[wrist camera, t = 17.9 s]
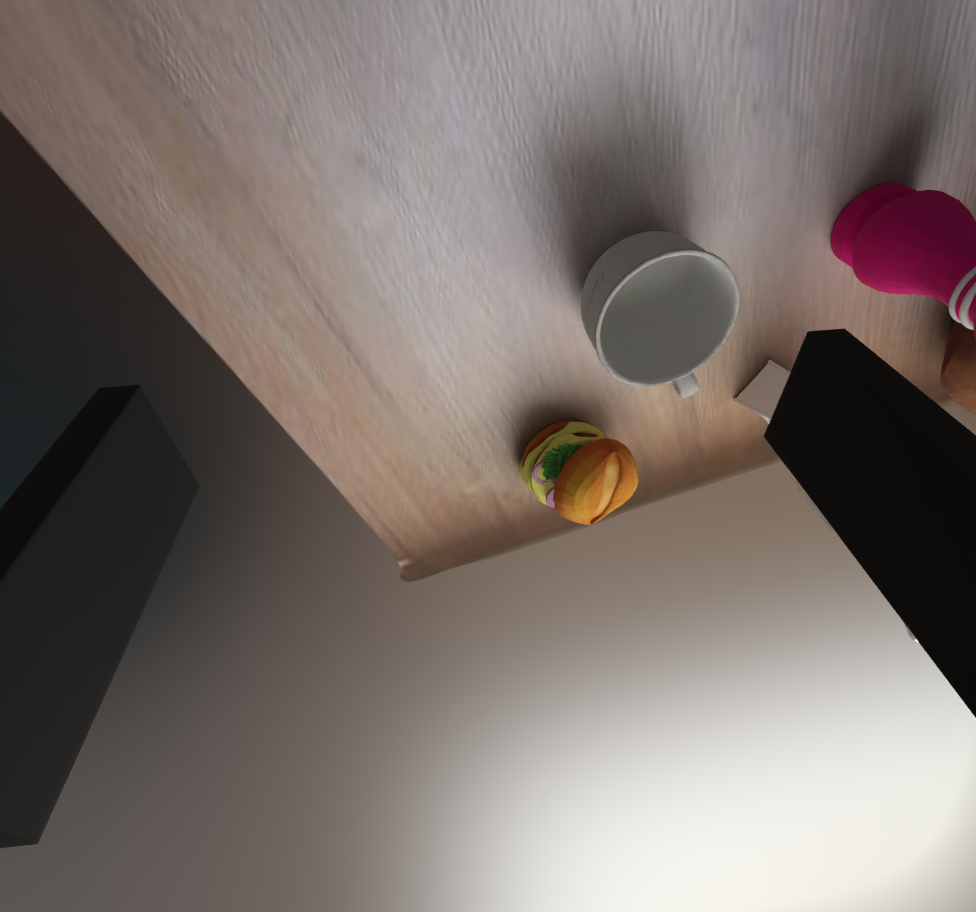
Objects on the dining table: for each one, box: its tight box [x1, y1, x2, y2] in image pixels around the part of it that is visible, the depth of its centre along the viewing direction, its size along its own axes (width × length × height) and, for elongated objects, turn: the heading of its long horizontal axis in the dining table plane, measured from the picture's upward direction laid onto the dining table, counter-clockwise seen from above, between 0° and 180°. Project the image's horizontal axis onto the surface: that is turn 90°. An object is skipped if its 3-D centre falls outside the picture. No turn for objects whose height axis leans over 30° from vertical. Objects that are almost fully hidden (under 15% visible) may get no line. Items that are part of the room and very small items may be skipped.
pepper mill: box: [831, 183, 976, 338], centre depth 35 cm, size 7×7×20 cm
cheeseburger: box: [519, 420, 638, 524], centre depth 53 cm, size 10×11×10 cm
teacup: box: [581, 231, 740, 398], centre depth 42 cm, size 14×11×8 cm
